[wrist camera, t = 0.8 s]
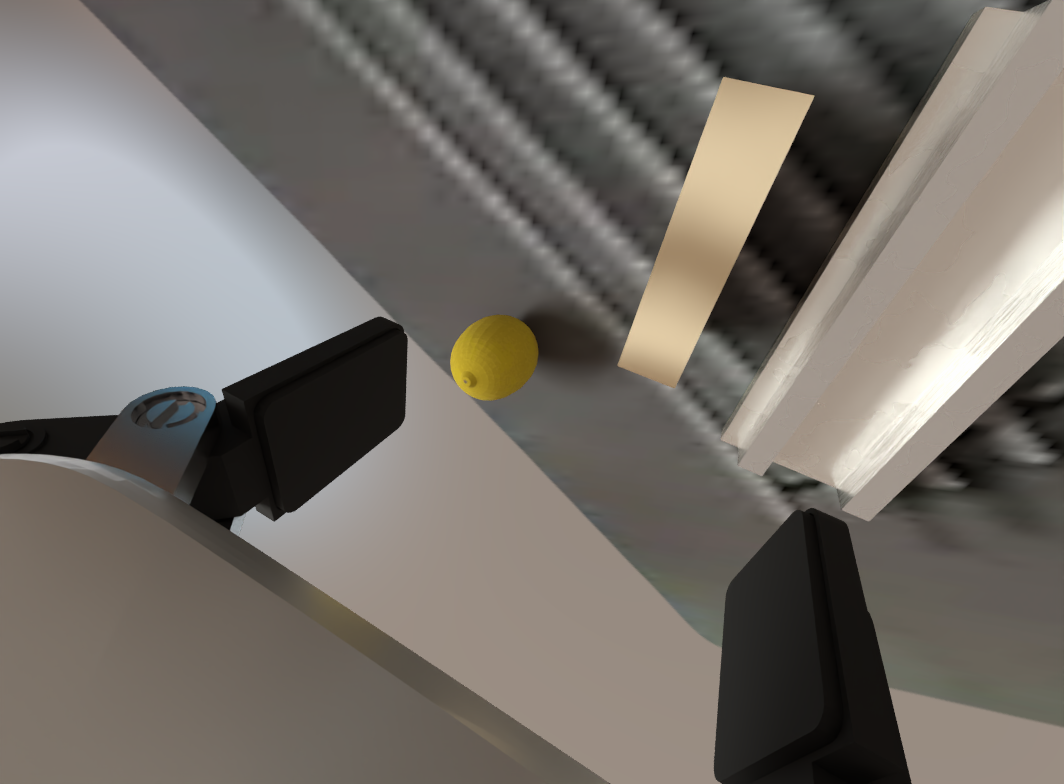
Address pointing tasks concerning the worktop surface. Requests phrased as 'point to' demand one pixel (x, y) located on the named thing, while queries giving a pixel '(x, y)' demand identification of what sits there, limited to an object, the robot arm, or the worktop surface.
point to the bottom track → (928, 277)
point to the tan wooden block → (711, 222)
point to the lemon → (494, 357)
